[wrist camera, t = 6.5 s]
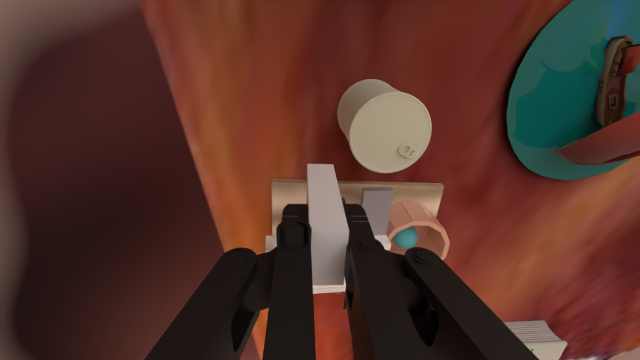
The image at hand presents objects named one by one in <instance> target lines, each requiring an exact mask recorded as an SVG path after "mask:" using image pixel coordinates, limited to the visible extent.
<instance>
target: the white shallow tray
mask: <svg viewBox="0 0 640 360" xmlns="http://www.w3.org/2000/svg"><path fill="white" fill-rule="evenodd" d="M393 195H394V189H393V188H392V187H362V194H361V201H360V206H361V207H363V208H364V209H365V212H366V215H367V217H368V220H369V223H370V226H371V229H372V231H373V234H374V237H375V239H377V240H378V241H380V242H381V243H382V245H383V246H384V249H385V250H390V248H391V243H390V241H389V239H388V237H387V236H386V232H387V227H388V222H389V216H390V211H391V206H392V200H393ZM276 246H277V240H276V235H273V236H266V253H267V252H269V251H271V250H273V249H274V248H275V247H276ZM345 289H346V283H345V277H344V285H313V294H317V293H330V292H343V291H345Z"/></svg>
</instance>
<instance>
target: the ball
mask: <svg viewBox="0 0 640 360" xmlns="http://www.w3.org/2000/svg"><path fill="white" fill-rule="evenodd" d="M417 240H418V234H417V231H416V230H415V228H414V227H412V226H410V227H408V228H406V229H403V230H401V231H399V232H397V233H396V234H395V235H394V236H393V241H394V243H395V244H396V245H397V246H398V247H400V248H403V249H409V248H412V247H413V246H414V245H415V244H416V243H417Z"/></svg>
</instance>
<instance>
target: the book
mask: <svg viewBox="0 0 640 360" xmlns="http://www.w3.org/2000/svg"><path fill="white" fill-rule="evenodd" d="M545 322H546V321H524V322H503V323H504V324H505V325H506V326H507V327H508V328H509V329H510V330H511V331H512V332H513V333H514V334H515V335H516V336H517V337H518V338H519V339H520V340H521V341H522V342H523V343H524V344H525V345H526V346H527V347H528V348H529V349H530V350H531V351H532V353H533V354H534V355H535V356H536V357H537V358H538V359H539V360H559V358H560V356H561V354H562V353H563V351H564V349H565V347H566V345H567V342H566V341H564V342H563V341H562V340H560V338H558V337H557V336H556V335H555V334H554V333H553V332H552V331H551V330H550V329H549V327H548V325H546V324H547V323H545ZM354 360H355V356H354Z"/></svg>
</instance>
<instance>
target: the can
mask: <svg viewBox="0 0 640 360" xmlns="http://www.w3.org/2000/svg"><path fill="white" fill-rule="evenodd" d="M337 118H338V123H339V126H340V128H341V130H342V131H343V133H344V134H345V136H346V138H347V140H348V142H349V145H350V148H351V151H352V153H353V155H354V157H355V158H356V160H357V161H358V162H359V163H360V164H361V165H362V166H364V167H365V168H367V169H369V170H371V171H374V172H378V173H393V172H397V171H400V170H403V169H405V168H407V167H409V166H410V165H412V164H413V163H414V162H416V161H417V160H418V159H419V158H420V157H421V155H422V154H423V153H424V151H425V150H426V148H427V146H428V144H429V141H430V137H431V131H432V124H431V119H430V115H429V113H428V111H427V109H426V107H425V106H424V105H423V104H422V102H421V101H419V100H418V99H417V98H415V97H414V96H412V95H409V94H406V93H403V92H401V91H398V90H396V89H394V88H392V87H391V86H390V85H389V84H387V83H385V82H383V81H381V80H376V79H367V80H363V81H360V82H357V83H355V84H354V85H352V86H351V87H350V88H349V89H347V91H346V92H345V93H344V94H343V96H342V98H341V100H340V102H339V105H338V110H337Z"/></svg>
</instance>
